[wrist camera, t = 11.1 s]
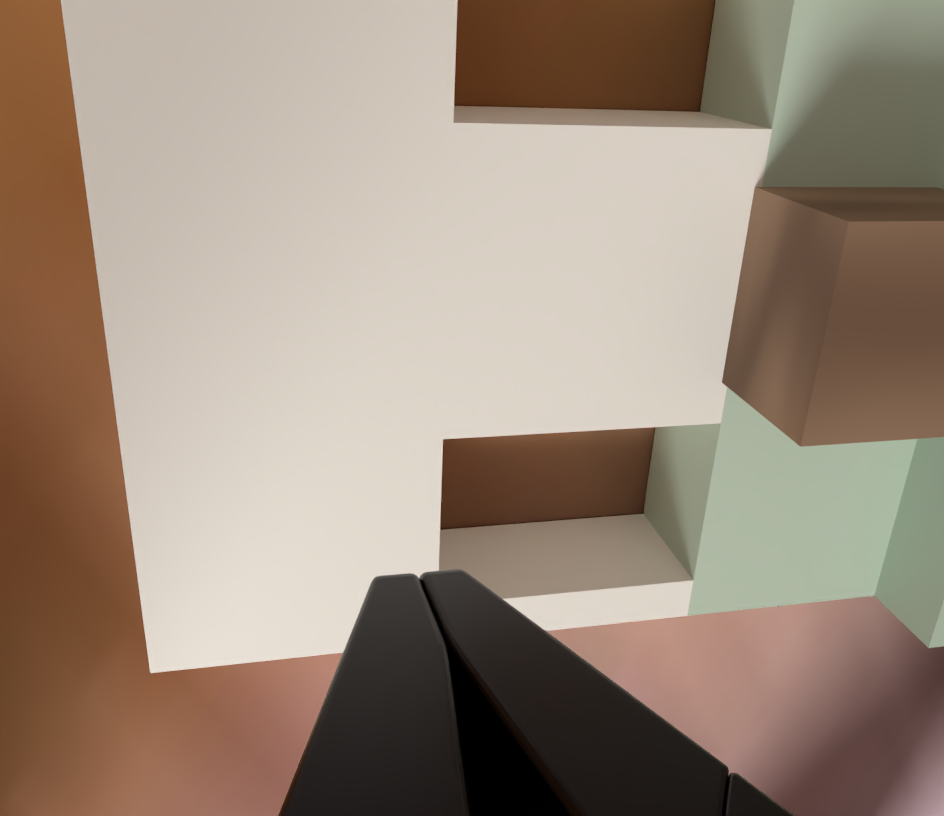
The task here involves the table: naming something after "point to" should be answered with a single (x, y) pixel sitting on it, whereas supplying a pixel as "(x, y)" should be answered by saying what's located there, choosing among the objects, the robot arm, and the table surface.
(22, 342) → the table surface
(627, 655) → the table surface
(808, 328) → the block
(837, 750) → the table surface
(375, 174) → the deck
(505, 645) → the robot arm
